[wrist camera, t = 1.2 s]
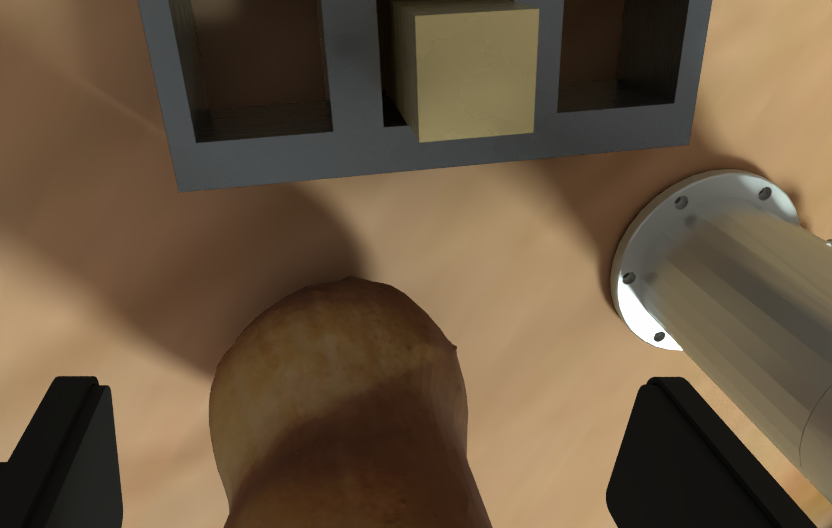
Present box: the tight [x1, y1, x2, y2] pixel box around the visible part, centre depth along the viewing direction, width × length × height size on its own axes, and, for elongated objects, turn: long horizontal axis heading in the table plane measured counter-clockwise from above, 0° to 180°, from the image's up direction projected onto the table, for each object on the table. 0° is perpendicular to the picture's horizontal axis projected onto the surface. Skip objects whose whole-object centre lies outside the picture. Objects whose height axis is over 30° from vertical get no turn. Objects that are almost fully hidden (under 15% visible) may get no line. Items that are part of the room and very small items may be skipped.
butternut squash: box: [209, 276, 492, 528], centre depth 29 cm, size 14×13×25 cm
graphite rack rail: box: [138, 0, 712, 192], centre depth 30 cm, size 24×10×6 cm, turn 92°
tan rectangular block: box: [376, 0, 539, 143], centre depth 28 cm, size 4×4×11 cm
